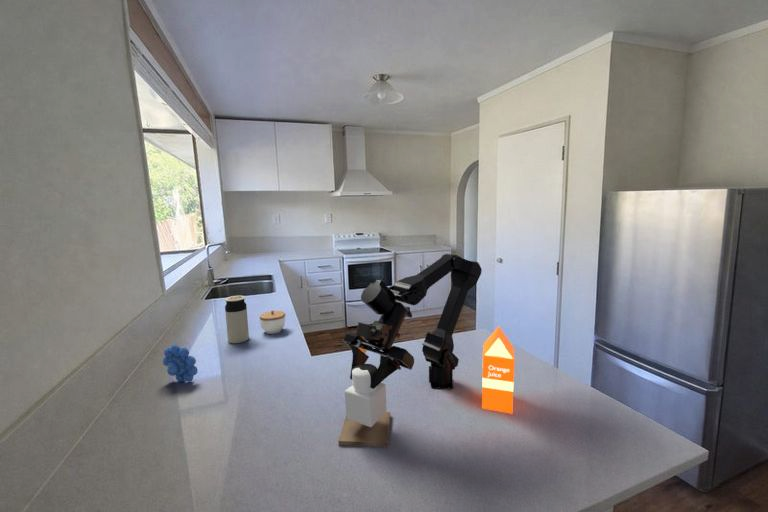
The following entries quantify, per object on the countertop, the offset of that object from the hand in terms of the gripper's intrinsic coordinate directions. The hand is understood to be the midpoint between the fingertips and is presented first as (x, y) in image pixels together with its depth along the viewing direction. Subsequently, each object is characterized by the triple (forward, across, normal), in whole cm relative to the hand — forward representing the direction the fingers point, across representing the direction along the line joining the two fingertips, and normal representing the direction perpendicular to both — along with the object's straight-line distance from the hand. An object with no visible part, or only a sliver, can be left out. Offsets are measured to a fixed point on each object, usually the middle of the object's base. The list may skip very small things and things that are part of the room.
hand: (361, 383), depth 76 cm
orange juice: (-13, +20, +31) cm, 39 cm away
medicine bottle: (+5, 0, +7) cm, 9 cm away
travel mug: (+2, -80, +16) cm, 81 cm away
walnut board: (+8, 0, +9) cm, 12 cm away
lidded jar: (-8, -77, +26) cm, 82 cm away
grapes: (+22, -61, -4) cm, 65 cm away
